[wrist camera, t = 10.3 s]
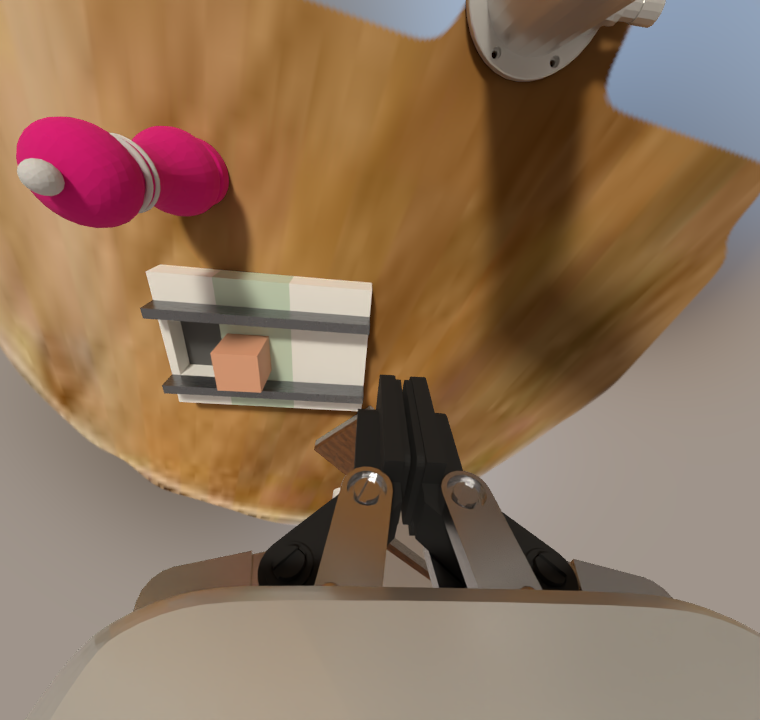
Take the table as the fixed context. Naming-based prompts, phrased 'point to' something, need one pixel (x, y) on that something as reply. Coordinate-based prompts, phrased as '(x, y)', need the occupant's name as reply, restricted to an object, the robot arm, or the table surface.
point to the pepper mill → (118, 171)
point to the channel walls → (261, 319)
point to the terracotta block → (242, 363)
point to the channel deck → (265, 328)
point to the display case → (404, 550)
